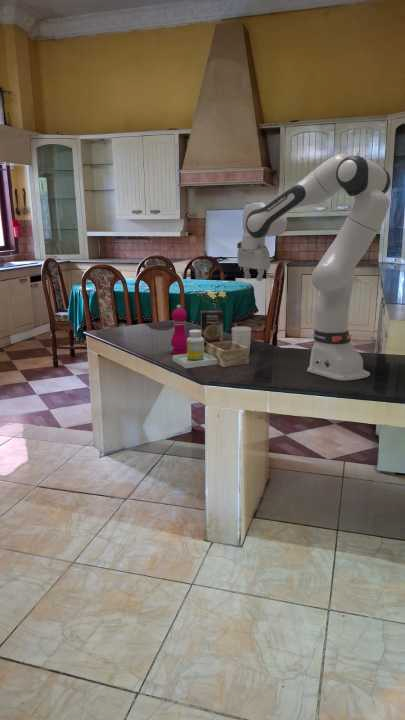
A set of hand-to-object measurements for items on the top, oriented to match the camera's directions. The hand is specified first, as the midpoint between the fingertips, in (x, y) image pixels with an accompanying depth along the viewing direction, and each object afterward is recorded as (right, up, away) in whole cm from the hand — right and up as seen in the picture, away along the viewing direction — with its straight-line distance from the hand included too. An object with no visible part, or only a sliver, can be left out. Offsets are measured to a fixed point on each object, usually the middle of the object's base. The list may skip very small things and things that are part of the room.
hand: (253, 279), depth 215 cm
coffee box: (-16, -28, +11) cm, 34 cm away
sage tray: (-23, -33, -11) cm, 42 cm away
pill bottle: (-23, -33, -11) cm, 42 cm away
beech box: (-11, -33, -9) cm, 36 cm away
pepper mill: (-30, -30, +4) cm, 42 cm away
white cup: (-5, -29, +4) cm, 30 cm away
